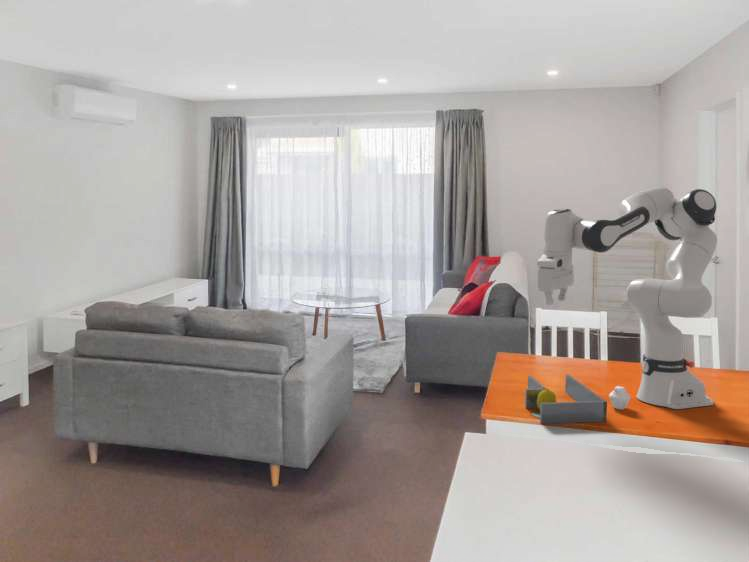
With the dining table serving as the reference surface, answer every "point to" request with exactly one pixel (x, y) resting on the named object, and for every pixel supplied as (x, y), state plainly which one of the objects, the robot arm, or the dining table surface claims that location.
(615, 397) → the white rounded piece
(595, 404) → the rail corridor
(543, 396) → the lemon
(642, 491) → the dining table surface
